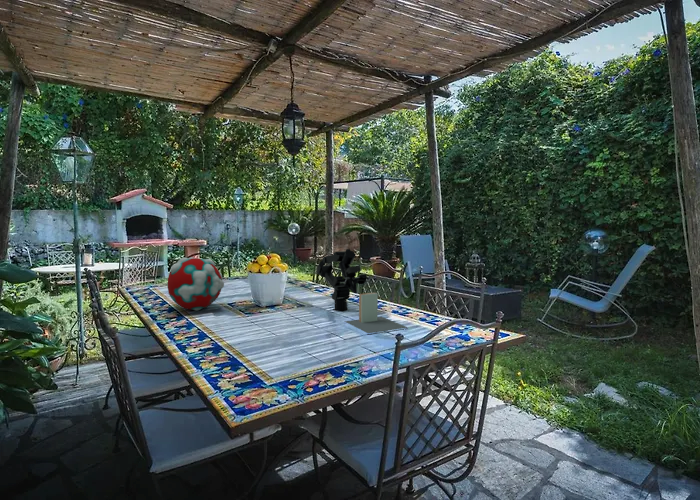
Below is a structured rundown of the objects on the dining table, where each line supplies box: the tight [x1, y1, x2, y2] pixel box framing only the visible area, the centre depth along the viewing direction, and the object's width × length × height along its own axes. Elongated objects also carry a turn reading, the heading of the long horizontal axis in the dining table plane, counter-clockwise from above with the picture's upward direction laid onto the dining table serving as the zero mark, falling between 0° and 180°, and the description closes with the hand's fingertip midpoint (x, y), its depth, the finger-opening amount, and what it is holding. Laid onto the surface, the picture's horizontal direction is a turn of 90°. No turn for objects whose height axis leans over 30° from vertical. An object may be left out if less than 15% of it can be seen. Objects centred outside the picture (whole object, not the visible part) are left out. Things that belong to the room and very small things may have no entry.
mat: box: [344, 316, 409, 336], centre depth 203 cm, size 24×22×1 cm
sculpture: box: [166, 257, 225, 311], centre depth 237 cm, size 32×30×30 cm
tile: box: [358, 292, 379, 323], centre depth 209 cm, size 3×9×14 cm, turn 117°
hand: (355, 292), depth 220 cm, fingers closed
